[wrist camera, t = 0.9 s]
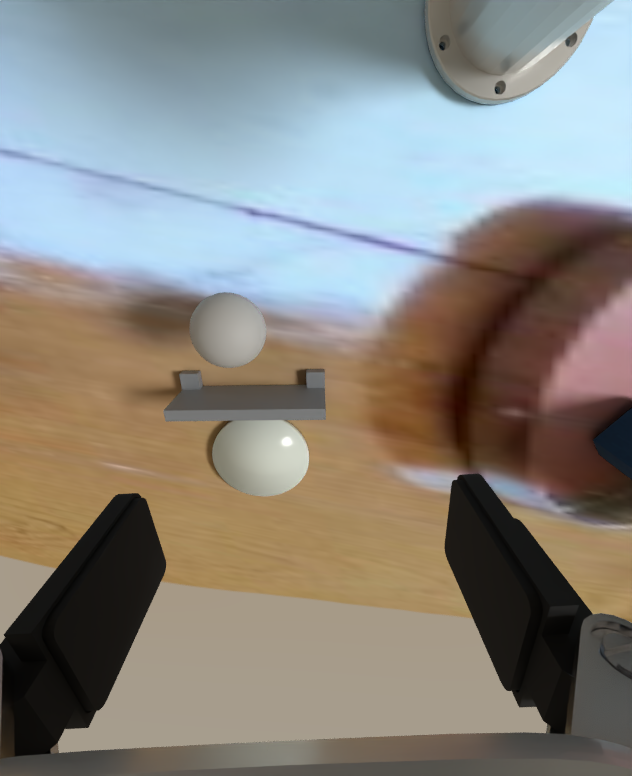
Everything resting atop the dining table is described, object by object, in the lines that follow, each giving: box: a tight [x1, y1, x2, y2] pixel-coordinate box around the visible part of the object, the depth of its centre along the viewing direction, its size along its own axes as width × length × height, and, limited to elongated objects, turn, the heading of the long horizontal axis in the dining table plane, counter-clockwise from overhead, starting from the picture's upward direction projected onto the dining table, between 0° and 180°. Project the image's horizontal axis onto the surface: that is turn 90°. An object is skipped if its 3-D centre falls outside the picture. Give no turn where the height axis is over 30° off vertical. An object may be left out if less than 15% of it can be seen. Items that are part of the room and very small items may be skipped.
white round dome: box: [212, 420, 309, 496], centre depth 42 cm, size 12×12×1 cm
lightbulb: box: [190, 292, 266, 368], centre depth 30 cm, size 6×6×11 cm
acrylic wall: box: [164, 369, 326, 421], centre depth 36 cm, size 5×16×6 cm, turn 91°
